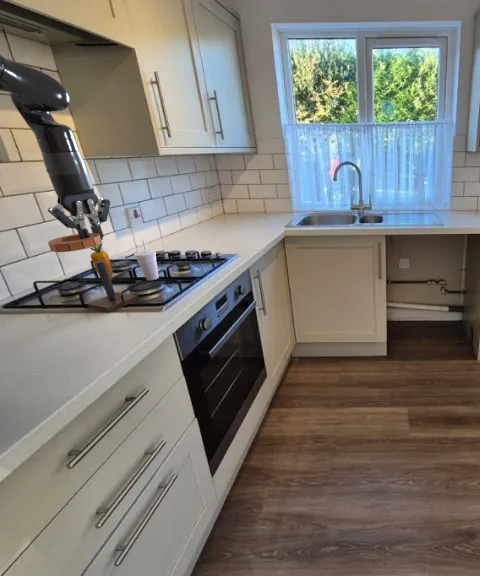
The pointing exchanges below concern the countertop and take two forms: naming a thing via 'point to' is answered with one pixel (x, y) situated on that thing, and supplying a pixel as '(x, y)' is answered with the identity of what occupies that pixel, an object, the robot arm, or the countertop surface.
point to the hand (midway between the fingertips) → (93, 241)
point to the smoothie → (147, 263)
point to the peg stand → (110, 293)
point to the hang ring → (74, 243)
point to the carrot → (101, 259)
